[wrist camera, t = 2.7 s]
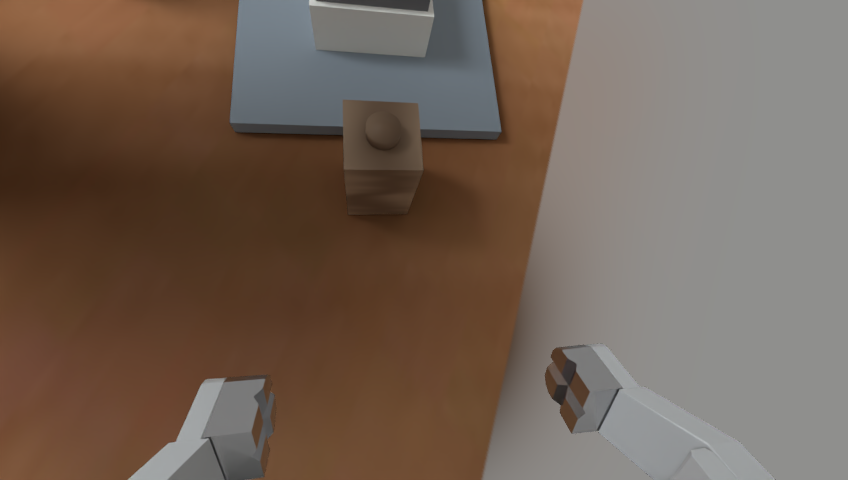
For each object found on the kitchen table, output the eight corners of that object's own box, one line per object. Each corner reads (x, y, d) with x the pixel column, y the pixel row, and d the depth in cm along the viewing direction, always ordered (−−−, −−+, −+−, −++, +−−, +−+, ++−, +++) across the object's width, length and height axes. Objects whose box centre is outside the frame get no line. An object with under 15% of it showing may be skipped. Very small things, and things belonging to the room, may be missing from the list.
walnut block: (347, 214, 27) (343, 162, 19) (346, 160, 28) (341, 90, 20) (407, 214, 27) (426, 164, 20) (403, 161, 29) (420, 94, 21)
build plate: (235, 132, 27) (197, 69, 21) (248, -55, 32) (221, -153, 25) (496, 139, 31) (531, 88, 24) (472, -29, 36) (496, -107, 29)
